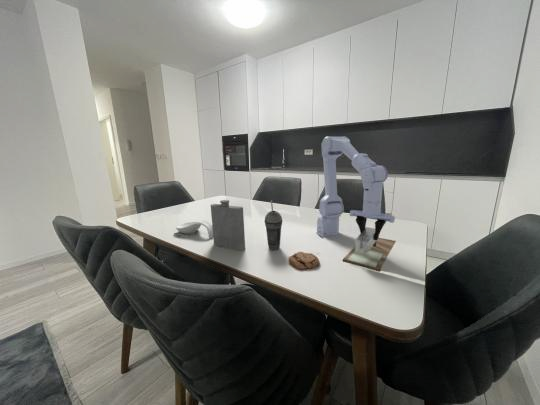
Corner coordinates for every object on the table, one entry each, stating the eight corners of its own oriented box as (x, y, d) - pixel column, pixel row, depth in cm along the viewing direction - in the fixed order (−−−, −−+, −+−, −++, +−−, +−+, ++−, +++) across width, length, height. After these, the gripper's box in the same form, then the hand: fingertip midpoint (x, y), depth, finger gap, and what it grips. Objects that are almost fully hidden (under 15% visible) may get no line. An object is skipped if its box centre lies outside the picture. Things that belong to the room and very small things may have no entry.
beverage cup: (270, 253, 86) (268, 203, 82) (262, 246, 92) (260, 199, 88) (286, 249, 89) (285, 200, 85) (277, 243, 96) (276, 197, 91)
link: (366, 236, 83) (366, 227, 82) (377, 239, 81) (377, 229, 80) (355, 250, 76) (355, 239, 74) (367, 253, 73) (367, 242, 72)
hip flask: (246, 248, 91) (244, 200, 87) (241, 251, 88) (238, 202, 84) (217, 241, 99) (213, 197, 95) (210, 245, 96) (206, 199, 91)
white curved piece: (171, 233, 112) (170, 220, 110) (191, 227, 121) (189, 214, 120) (204, 242, 99) (203, 227, 98) (223, 234, 109) (222, 220, 108)
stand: (380, 271, 71) (381, 254, 69) (342, 261, 78) (343, 245, 77) (395, 243, 92) (397, 229, 91) (365, 237, 99) (366, 224, 98)
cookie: (322, 270, 73) (322, 261, 73) (290, 271, 73) (290, 263, 72) (315, 256, 83) (315, 248, 82) (287, 257, 83) (287, 250, 82)
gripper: (398, 201, 75) (394, 239, 78) (355, 197, 85) (353, 230, 88) (393, 205, 70) (389, 245, 73) (348, 200, 80) (346, 236, 82)
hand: (369, 238), depth 80 cm, fingers closed on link, 4 cm apart
